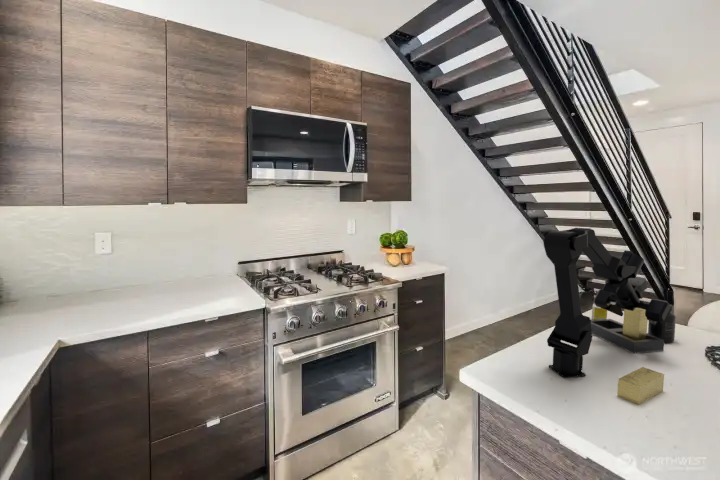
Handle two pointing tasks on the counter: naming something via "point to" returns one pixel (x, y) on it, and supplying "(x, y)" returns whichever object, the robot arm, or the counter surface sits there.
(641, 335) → the brass block
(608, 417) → the counter surface
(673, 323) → the supplement bottle
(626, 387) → the block
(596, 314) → the supplement bottle
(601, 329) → the compartment tray
